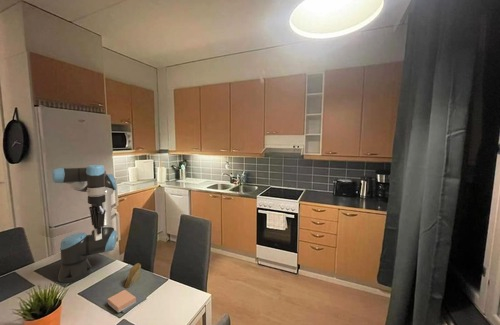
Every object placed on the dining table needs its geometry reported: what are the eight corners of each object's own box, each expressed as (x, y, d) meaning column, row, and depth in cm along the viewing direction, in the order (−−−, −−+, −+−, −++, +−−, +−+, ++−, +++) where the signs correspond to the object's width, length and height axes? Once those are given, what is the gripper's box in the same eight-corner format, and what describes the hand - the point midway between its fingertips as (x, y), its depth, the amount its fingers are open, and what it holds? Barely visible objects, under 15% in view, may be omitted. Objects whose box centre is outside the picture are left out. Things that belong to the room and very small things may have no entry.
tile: (107, 298, 103) (118, 307, 97) (124, 289, 109) (135, 297, 104) (107, 303, 103) (118, 312, 97) (125, 294, 109) (136, 302, 104)
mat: (112, 304, 103) (112, 302, 103) (135, 291, 113) (135, 290, 112) (123, 313, 98) (123, 311, 98) (146, 299, 107) (146, 297, 107)
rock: (128, 287, 112) (146, 275, 120) (121, 272, 114) (139, 261, 122) (122, 291, 119) (140, 280, 127) (116, 277, 120) (134, 266, 128)
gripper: (82, 194, 112) (84, 238, 114) (93, 198, 105) (95, 245, 107) (98, 192, 118) (100, 234, 120) (110, 195, 111) (112, 239, 113)
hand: (98, 239), depth 113 cm, fingers closed
